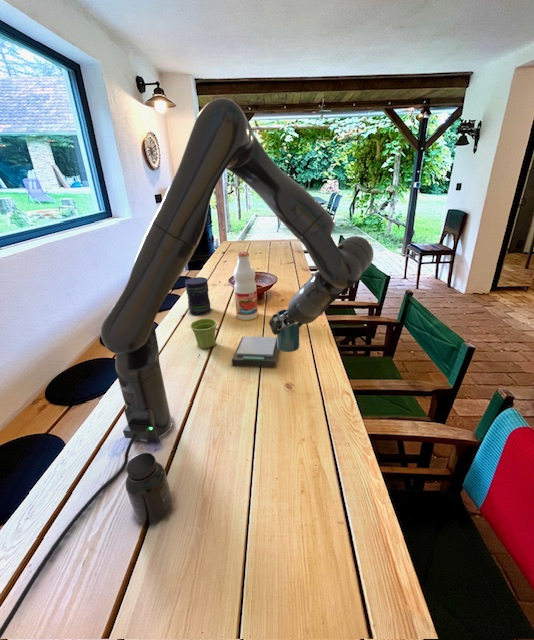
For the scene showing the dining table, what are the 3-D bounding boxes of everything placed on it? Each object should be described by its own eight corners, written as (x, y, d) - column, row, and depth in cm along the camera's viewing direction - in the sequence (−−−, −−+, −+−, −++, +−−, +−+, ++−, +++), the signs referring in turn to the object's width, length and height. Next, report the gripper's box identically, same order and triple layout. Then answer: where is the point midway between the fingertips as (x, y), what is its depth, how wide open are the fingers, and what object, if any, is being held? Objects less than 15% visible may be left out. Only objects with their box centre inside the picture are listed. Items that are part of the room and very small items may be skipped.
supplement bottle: (159, 486, 65) (148, 441, 60) (180, 505, 61) (169, 459, 56) (128, 511, 61) (113, 465, 56) (148, 534, 57) (133, 487, 52)
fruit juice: (251, 310, 148) (247, 249, 136) (261, 317, 140) (258, 253, 129) (233, 315, 143) (227, 252, 132) (242, 322, 136) (237, 256, 124)
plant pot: (214, 352, 114) (211, 330, 110) (189, 350, 116) (186, 328, 112) (222, 339, 122) (220, 319, 119) (199, 338, 124) (196, 317, 120)
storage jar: (213, 313, 146) (209, 281, 140) (191, 317, 143) (186, 285, 137) (208, 306, 154) (204, 276, 148) (187, 309, 151) (183, 279, 145)
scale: (274, 367, 103) (274, 359, 102) (232, 365, 105) (231, 357, 104) (279, 343, 118) (279, 335, 116) (242, 342, 120) (241, 334, 118)
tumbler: (298, 352, 86) (298, 318, 82) (276, 351, 87) (275, 317, 82) (299, 341, 91) (300, 309, 87) (278, 341, 92) (278, 308, 88)
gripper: (329, 282, 78) (301, 311, 92) (277, 293, 72) (256, 322, 86) (342, 309, 76) (311, 334, 90) (289, 323, 70) (266, 347, 84)
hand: (284, 328), depth 88 cm, fingers closed on tumbler, 6 cm apart
